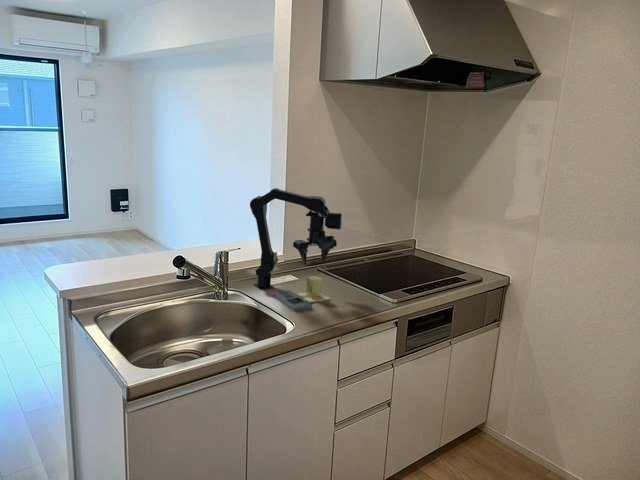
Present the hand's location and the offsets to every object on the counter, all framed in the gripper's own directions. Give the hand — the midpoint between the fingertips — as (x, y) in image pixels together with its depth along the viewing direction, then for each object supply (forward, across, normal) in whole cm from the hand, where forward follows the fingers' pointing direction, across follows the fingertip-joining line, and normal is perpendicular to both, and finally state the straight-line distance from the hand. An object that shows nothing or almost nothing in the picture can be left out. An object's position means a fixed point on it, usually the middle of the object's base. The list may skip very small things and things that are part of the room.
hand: (313, 263), depth 208 cm
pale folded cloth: (+13, -3, -6) cm, 15 cm away
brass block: (+12, -3, -6) cm, 14 cm away
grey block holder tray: (+13, -14, -7) cm, 20 cm away
